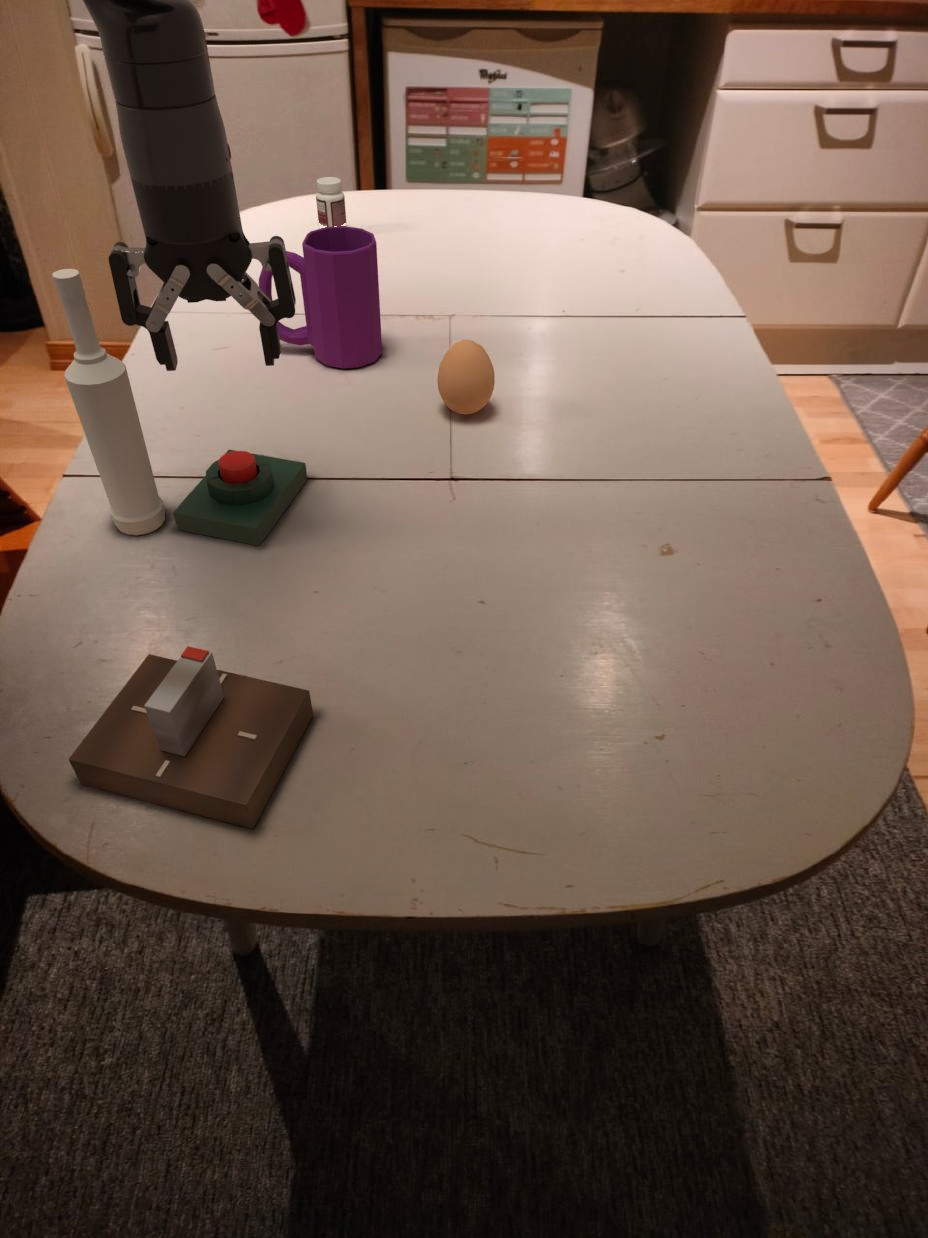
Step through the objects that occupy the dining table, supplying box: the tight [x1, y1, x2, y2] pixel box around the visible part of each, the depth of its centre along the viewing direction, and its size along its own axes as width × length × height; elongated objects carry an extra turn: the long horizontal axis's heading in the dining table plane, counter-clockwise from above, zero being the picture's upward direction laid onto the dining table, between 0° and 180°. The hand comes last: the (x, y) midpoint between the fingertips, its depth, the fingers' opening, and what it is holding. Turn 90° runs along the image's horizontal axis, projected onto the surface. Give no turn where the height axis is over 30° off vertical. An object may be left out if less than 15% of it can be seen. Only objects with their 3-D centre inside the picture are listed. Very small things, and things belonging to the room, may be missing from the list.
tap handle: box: [144, 645, 224, 756], centre depth 61 cm, size 6×2×5 cm, turn 164°
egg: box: [436, 339, 495, 415], centre depth 100 cm, size 7×7×9 cm
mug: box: [258, 225, 383, 370], centre depth 108 cm, size 9×16×15 cm, turn 87°
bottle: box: [52, 268, 166, 536], centre depth 77 cm, size 5×5×25 cm
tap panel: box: [68, 653, 314, 830], centre depth 64 cm, size 14×11×3 cm
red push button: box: [218, 450, 257, 484], centre depth 85 cm, size 4×4×2 cm
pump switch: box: [172, 449, 308, 546], centre depth 87 cm, size 12×9×4 cm
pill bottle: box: [315, 176, 347, 227], centre depth 142 cm, size 5×5×8 cm
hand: (222, 364), depth 75 cm, fingers open, 8 cm apart
